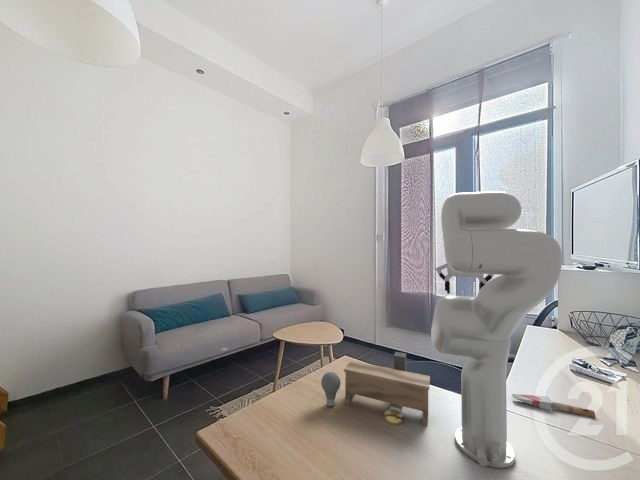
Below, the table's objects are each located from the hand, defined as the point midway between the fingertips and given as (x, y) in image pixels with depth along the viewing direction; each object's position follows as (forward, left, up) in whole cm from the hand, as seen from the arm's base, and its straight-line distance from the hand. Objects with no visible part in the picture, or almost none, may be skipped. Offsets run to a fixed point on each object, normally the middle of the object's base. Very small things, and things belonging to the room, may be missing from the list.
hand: (464, 294), depth 87 cm
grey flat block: (-12, +20, -34) cm, 41 cm away
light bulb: (-22, +39, -34) cm, 56 cm away
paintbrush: (+6, -24, -35) cm, 43 cm away
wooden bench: (-16, +23, -34) cm, 44 cm away
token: (-21, +20, -35) cm, 45 cm away
